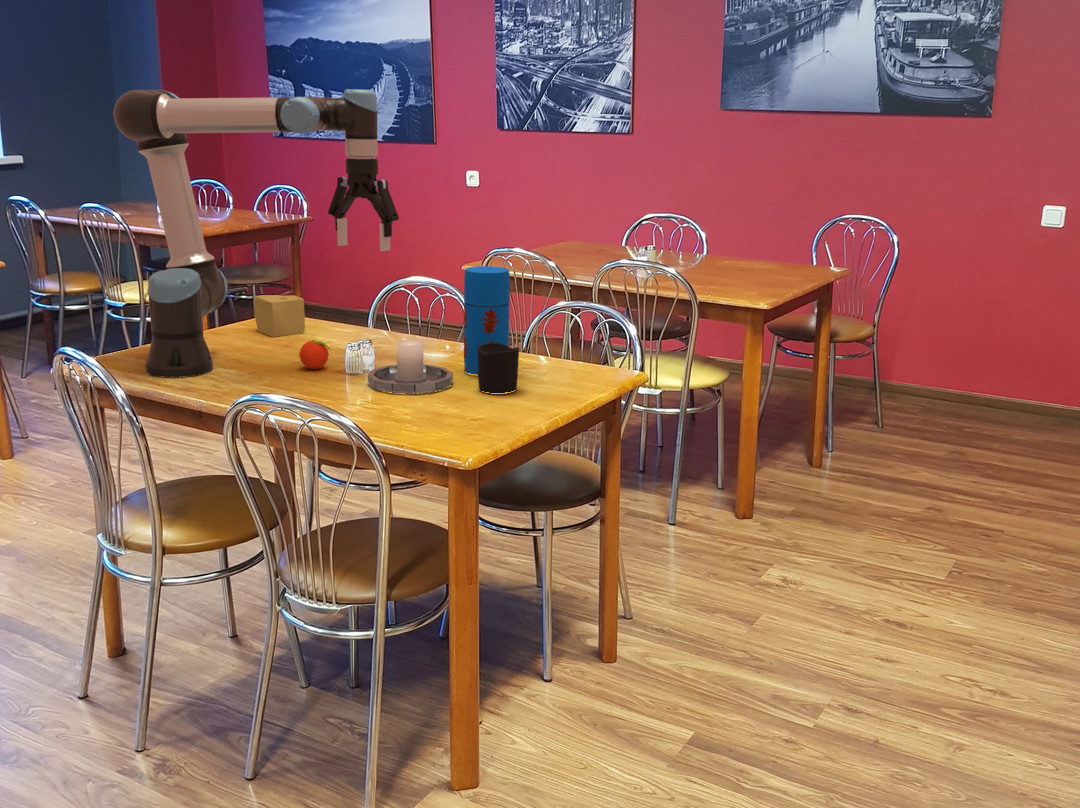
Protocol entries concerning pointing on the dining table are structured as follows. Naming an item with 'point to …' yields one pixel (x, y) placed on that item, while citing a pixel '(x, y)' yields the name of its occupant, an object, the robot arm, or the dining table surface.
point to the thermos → (485, 310)
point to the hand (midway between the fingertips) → (363, 248)
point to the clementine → (314, 354)
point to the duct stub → (410, 362)
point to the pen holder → (497, 368)
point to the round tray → (386, 382)
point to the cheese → (279, 314)
